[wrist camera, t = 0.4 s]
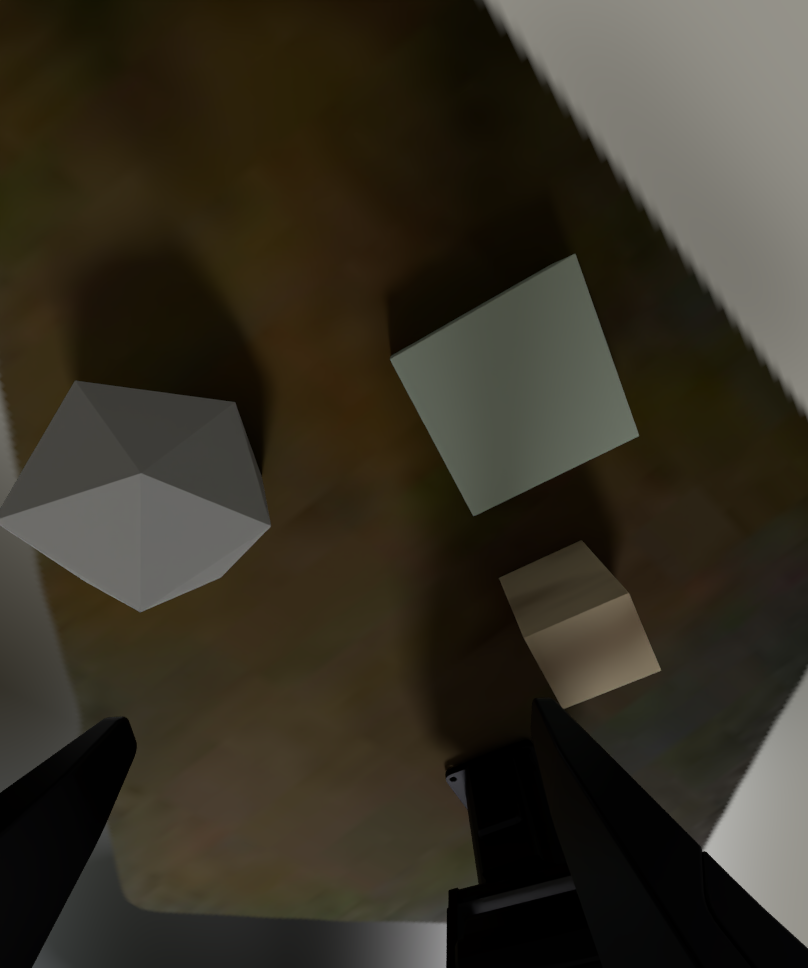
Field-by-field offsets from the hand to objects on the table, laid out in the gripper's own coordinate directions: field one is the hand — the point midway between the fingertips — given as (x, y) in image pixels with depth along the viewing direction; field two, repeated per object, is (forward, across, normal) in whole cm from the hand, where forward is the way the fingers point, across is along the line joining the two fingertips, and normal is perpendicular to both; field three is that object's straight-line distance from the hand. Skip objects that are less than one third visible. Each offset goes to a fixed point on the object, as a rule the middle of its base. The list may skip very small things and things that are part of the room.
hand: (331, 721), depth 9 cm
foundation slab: (+14, -7, -5) cm, 16 cm away
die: (+13, +8, -2) cm, 16 cm away
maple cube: (+14, -10, +6) cm, 18 cm away
